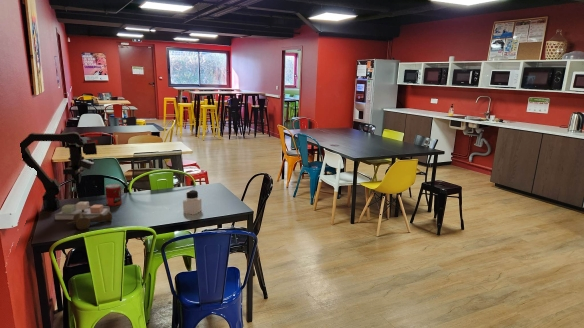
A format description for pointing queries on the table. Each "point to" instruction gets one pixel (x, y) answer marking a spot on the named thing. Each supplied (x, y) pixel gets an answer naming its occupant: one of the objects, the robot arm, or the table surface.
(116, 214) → the table surface
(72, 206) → the key sage
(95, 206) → the key terracotta
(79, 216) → the kendama
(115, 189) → the canned food
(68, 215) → the keypad base
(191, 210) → the medicine bottle
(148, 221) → the table surface
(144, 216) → the table surface
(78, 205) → the key white
